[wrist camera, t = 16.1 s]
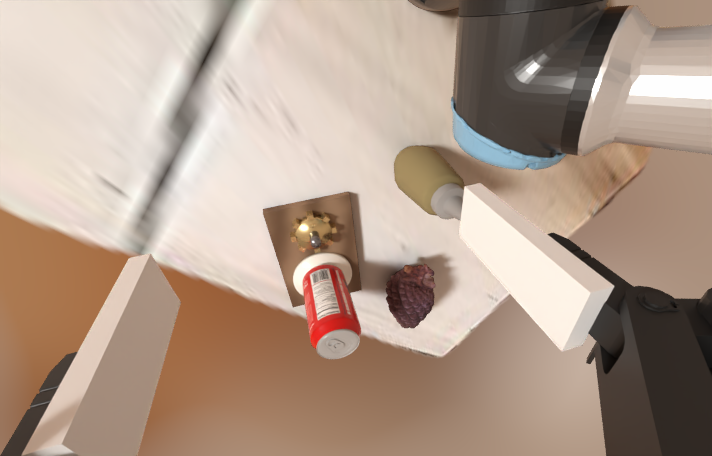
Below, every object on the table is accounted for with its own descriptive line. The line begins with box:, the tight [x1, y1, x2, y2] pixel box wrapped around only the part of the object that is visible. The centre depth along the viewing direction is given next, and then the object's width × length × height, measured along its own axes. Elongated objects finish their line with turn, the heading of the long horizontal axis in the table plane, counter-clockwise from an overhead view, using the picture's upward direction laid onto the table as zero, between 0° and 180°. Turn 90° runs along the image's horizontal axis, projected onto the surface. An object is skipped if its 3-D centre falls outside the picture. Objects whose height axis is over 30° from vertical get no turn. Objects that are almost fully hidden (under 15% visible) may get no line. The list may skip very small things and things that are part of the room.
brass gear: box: [290, 210, 337, 253], centre depth 51 cm, size 8×8×4 cm
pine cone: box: [386, 264, 435, 328], centre depth 63 cm, size 18×10×10 cm, turn 177°
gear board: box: [263, 192, 361, 307], centre depth 57 cm, size 14×22×2 cm, turn 7°
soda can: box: [302, 264, 361, 359], centre depth 52 cm, size 8×8×15 cm
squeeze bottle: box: [394, 146, 465, 220], centre depth 45 cm, size 8×8×18 cm
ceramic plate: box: [293, 252, 352, 296], centre depth 59 cm, size 11×11×1 cm
